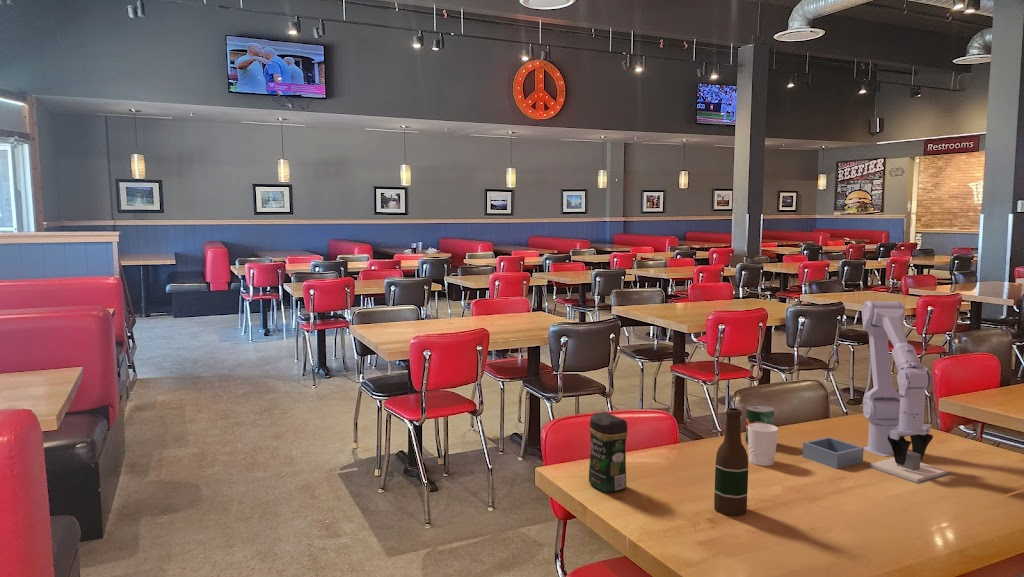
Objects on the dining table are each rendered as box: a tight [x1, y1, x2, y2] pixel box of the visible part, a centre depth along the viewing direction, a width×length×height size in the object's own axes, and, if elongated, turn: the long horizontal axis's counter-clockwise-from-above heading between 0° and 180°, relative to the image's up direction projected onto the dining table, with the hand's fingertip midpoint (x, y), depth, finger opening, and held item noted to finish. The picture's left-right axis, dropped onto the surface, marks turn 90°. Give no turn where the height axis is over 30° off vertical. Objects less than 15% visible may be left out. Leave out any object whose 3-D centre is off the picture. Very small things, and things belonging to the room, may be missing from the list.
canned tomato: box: [744, 404, 775, 445], centre depth 212 cm, size 8×8×11 cm
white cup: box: [747, 423, 779, 467], centre depth 196 cm, size 8×8×10 cm
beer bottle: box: [713, 407, 749, 517], centre depth 163 cm, size 8×8×24 cm
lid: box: [869, 450, 948, 482], centre depth 189 cm, size 13×13×5 cm
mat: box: [865, 463, 953, 485], centre depth 190 cm, size 15×15×1 cm
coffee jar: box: [588, 411, 628, 493], centre depth 177 cm, size 10×8×19 cm
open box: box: [802, 436, 865, 470], centre depth 198 cm, size 11×11×4 cm
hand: (908, 461), depth 189 cm, fingers open, 7 cm apart
